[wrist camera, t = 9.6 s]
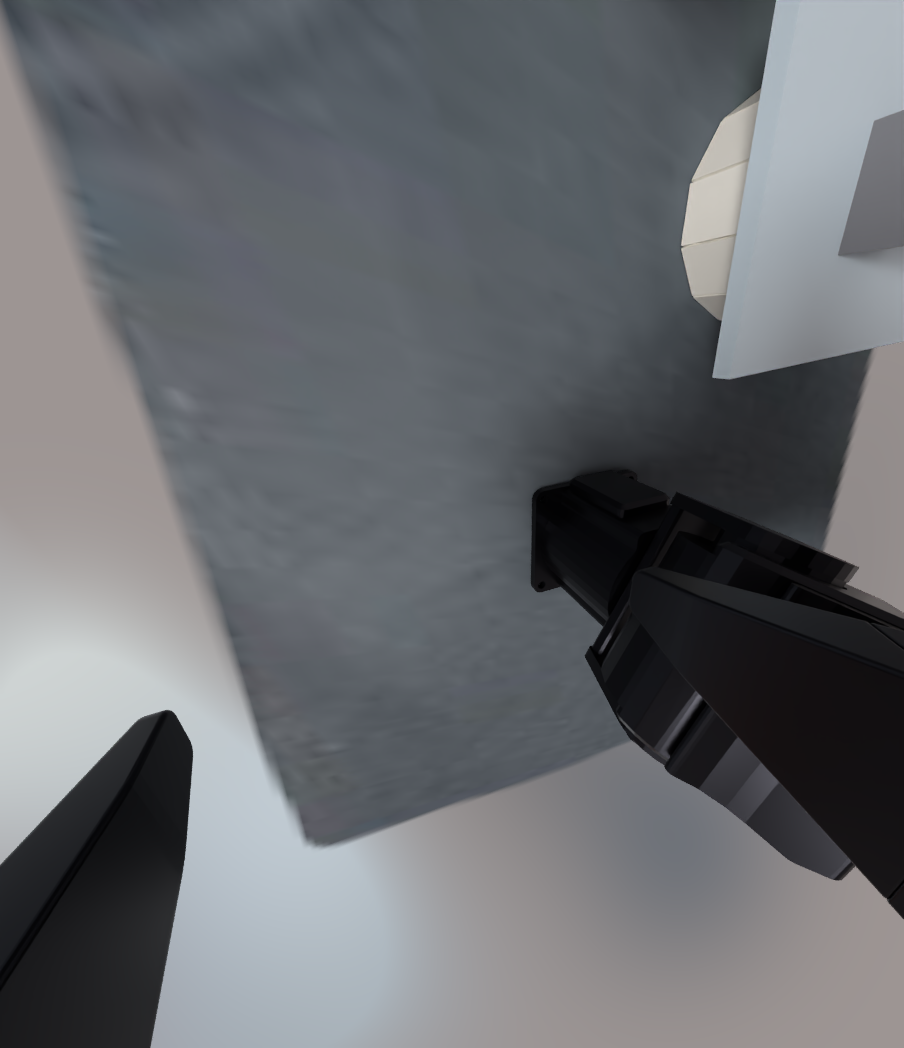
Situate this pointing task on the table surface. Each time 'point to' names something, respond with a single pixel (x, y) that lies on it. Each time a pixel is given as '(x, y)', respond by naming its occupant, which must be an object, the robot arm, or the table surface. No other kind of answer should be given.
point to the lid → (821, 192)
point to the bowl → (718, 207)
